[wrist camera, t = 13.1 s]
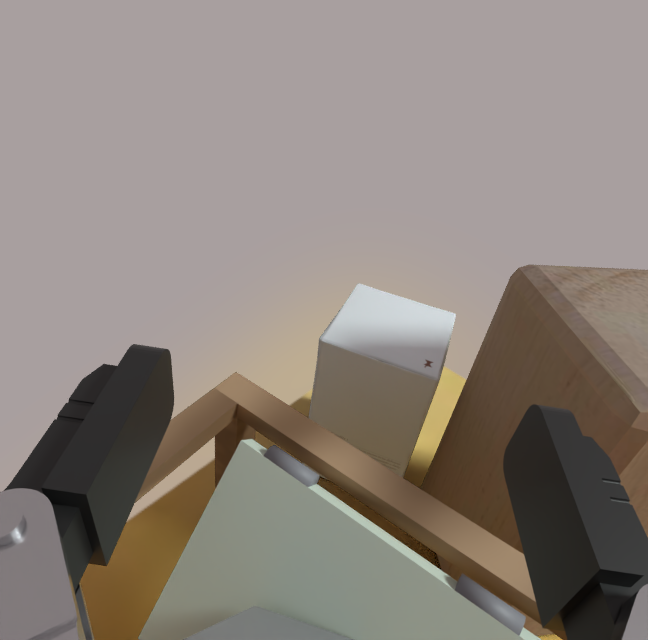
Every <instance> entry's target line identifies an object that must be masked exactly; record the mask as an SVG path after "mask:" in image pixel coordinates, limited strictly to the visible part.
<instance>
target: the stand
mask: <svg viewBox="0 0 648 640" xmlns="http://www.w3.org/2000/svg"><path fill="white" fill-rule="evenodd" d="M255 430H256V431H258V432H259V433H261V434H262V435H264V436H265V437H267V438H268V439H270V440H271V441H272V442H274V443H275V444H277V445H278V446H280V447H281V448H283V449H284V450H286V451H287V452H289V453H290V454H292V455H293V456H294V457H296V458H297V459H299V460H300V461H302V462H303V463H305V464H306V465H308V466H309V467H311V468H312V469H314V470H315V471H316V472H318V473H319V474H321V475H322V476H324V477H325V478H327V479H328V480H330V481H331V482H333V483H334V484H336V485H337V486H338V487H340V488H341V489H343V490H344V491H346V492H347V493H349V494H350V495H352V496H353V497H355V498H356V499H357V500H359V501H360V502H362V503H363V504H365V505H366V506H368V507H369V508H371V509H372V510H374V511H375V512H377V513H378V514H379V515H381V516H382V517H384V518H385V519H387V520H388V521H390V522H391V523H393V524H394V525H396V526H397V527H399V528H400V529H401V530H403V531H404V532H406V533H407V534H409V535H410V536H412V537H413V538H415V539H416V540H418V541H419V542H421V543H422V544H423V545H425V546H426V547H428V548H429V549H431V550H432V551H434V552H435V553H437V554H438V555H440V556H441V557H443V558H444V559H445V560H447V561H448V562H450V563H451V564H453V565H454V566H456V567H457V568H459V569H460V570H462V571H463V572H465V573H466V574H467V575H469V576H470V577H472V578H473V579H475V580H476V581H478V582H479V583H481V584H482V585H484V586H485V587H487V588H488V589H489V590H491V591H492V592H494V593H495V594H497V595H498V596H500V597H501V598H503V599H504V600H506V601H507V602H509V603H510V604H511V605H513V606H514V607H516V608H517V609H519V610H520V611H522V612H523V613H525V614H526V615H528V616H529V617H531V618H532V619H533V620H535V621H536V622H538V623H539V624H541V620H540V616H539V612H538V608H537V604H536V600H535V596H534V592H533V588H532V584H531V580H530V576H529V572H528V568H527V564H526V560H525V556H524V554H522V553H521V552H519V551H518V550H516V549H514V548H513V547H511V546H510V545H508V544H506V543H505V542H503V541H502V540H500V539H499V538H497V537H495V536H494V535H492V534H491V533H489V532H488V531H486V530H484V529H483V528H481V527H480V526H478V525H477V524H475V523H473V522H472V521H470V520H469V519H467V518H465V517H464V516H462V515H461V514H459V513H458V512H456V511H454V510H453V509H451V508H450V507H448V506H447V505H445V504H443V503H442V502H440V501H439V500H437V499H435V498H434V497H432V496H431V495H429V494H428V493H426V492H424V491H423V490H421V489H420V488H418V487H417V486H415V485H413V484H412V483H410V482H409V481H407V480H406V479H404V478H402V477H401V476H399V475H398V474H396V473H394V472H393V471H391V470H390V469H388V468H387V467H385V466H383V465H382V464H380V463H379V462H377V461H376V460H374V459H372V458H371V457H369V456H368V455H366V454H364V453H363V452H361V451H360V450H358V449H357V448H355V447H353V446H352V445H350V444H349V443H347V442H346V441H344V440H342V439H341V438H339V437H338V436H336V435H335V434H333V433H331V432H330V431H328V430H327V429H325V428H323V427H322V426H320V425H319V424H317V423H316V422H314V421H312V420H311V419H309V418H308V417H306V416H305V415H303V414H301V413H300V412H298V411H297V410H295V409H293V408H292V407H290V406H289V405H287V404H286V403H284V402H282V401H281V400H279V399H278V398H276V397H275V396H273V395H271V394H270V393H268V392H267V391H265V390H264V389H262V388H260V387H259V386H257V385H255V384H254V383H252V382H251V381H249V380H248V379H246V378H245V377H243V376H241V375H240V374H238V373H237V372H235V373H234V374H232V375H231V376H230V377H228V378H227V379H226V380H224V381H223V382H222V383H220V384H219V385H218V386H216V387H215V388H214V389H212V390H211V391H209V392H208V393H207V394H205V395H204V396H203V397H201V398H200V399H199V400H197V401H196V402H195V403H193V404H192V405H191V406H189V407H188V408H187V409H185V410H184V411H183V412H181V413H180V414H178V415H177V416H176V417H174V418H173V419H172V420H170V423H169V425H168V428H167V430H166V432H165V435H164V437H163V439H162V441H161V444H160V446H159V448H158V450H157V453H156V455H155V457H154V460H153V462H152V464H151V466H150V469H149V471H148V473H147V476H146V478H145V480H144V482H143V485H142V487H141V489H140V491H139V494H138V496H137V498H136V501H135V502H137V501H138V500H139V499H140V498H141V497H142V496H144V495H145V494H146V493H147V492H148V491H150V490H151V489H152V488H153V487H154V486H156V485H157V484H158V483H159V482H160V481H161V480H163V479H164V478H165V477H166V476H168V475H169V474H170V473H171V472H172V471H174V470H175V469H176V468H177V467H178V466H179V465H181V464H182V463H183V462H184V461H185V460H187V459H188V458H189V457H190V456H191V455H193V454H194V453H195V452H196V451H197V450H199V449H200V448H201V447H202V446H203V445H205V444H206V443H207V442H208V441H209V440H210V439H212V438H213V437H214V436H215V489H216V487H217V485H218V483H219V482H220V480H221V478H222V476H223V474H224V472H225V470H226V468H227V466H228V464H229V462H230V460H231V459H232V457H233V455H234V453H235V451H236V449H237V447H238V445H239V443H240V441H241V440H247V439H253V440H254V441H255ZM541 625H542V624H541ZM548 630H550V631H551V632H553V633H554V634H555V635H557V636H558V637H560V638H561V639H563V640H567V636H566V633H565V631H559V630H552V629H548Z"/></svg>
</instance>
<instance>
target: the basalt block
mask: <svg viewBox="0 0 648 640" xmlns="http://www.w3.org/2000/svg"><path fill="white" fill-rule="evenodd" d="M183 640H354V639H351V638H348V637H345V636H342V635H340V634H337V633H334V632H331V631H328V630H325V629H322V628H319V627H316V626H313V625H310V624H308V623H305V622H302V621H299V620H296V619H293V618H290V617H287V616H284V615H281V614H278V613H276V612H273V611H270V610H267V609H264V608H261V607H258V606H253V607H250V608H248V609H246V610H244V611H242V612H240V613H238V614H236V615H234V616H232V617H229V618H227V619H225V620H223V621H221V622H219V623H217V624H215V625H213V626H210V627H208V628H206V629H204V630H202V631H200V632H198V633H196V634H194V635H192V636H189V637H187V638H185V639H183Z"/></svg>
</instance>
